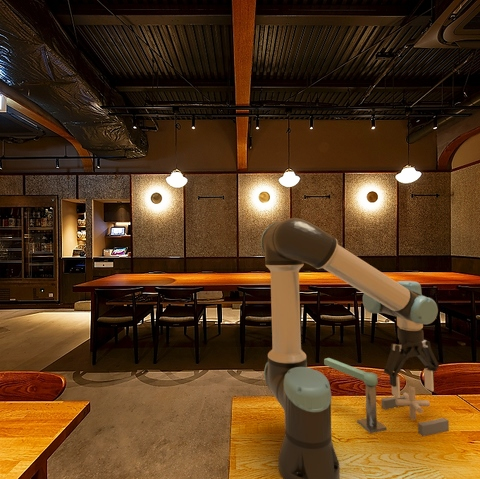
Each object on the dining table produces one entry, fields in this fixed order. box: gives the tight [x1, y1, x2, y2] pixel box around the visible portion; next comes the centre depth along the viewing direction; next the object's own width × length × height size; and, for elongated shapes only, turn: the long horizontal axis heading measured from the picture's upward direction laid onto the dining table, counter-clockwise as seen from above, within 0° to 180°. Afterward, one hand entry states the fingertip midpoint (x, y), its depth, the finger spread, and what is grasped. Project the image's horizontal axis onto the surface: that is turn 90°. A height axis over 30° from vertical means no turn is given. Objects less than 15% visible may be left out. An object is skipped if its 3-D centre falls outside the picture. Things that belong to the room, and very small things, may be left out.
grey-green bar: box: [323, 357, 378, 386], centre depth 101 cm, size 20×4×2 cm, turn 32°
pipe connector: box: [395, 385, 431, 421], centre depth 98 cm, size 10×10×10 cm
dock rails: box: [380, 396, 450, 437], centre depth 98 cm, size 10×17×3 cm, turn 15°
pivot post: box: [356, 384, 387, 434], centre depth 94 cm, size 6×6×13 cm
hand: (412, 392), depth 98 cm, fingers open, 13 cm apart
